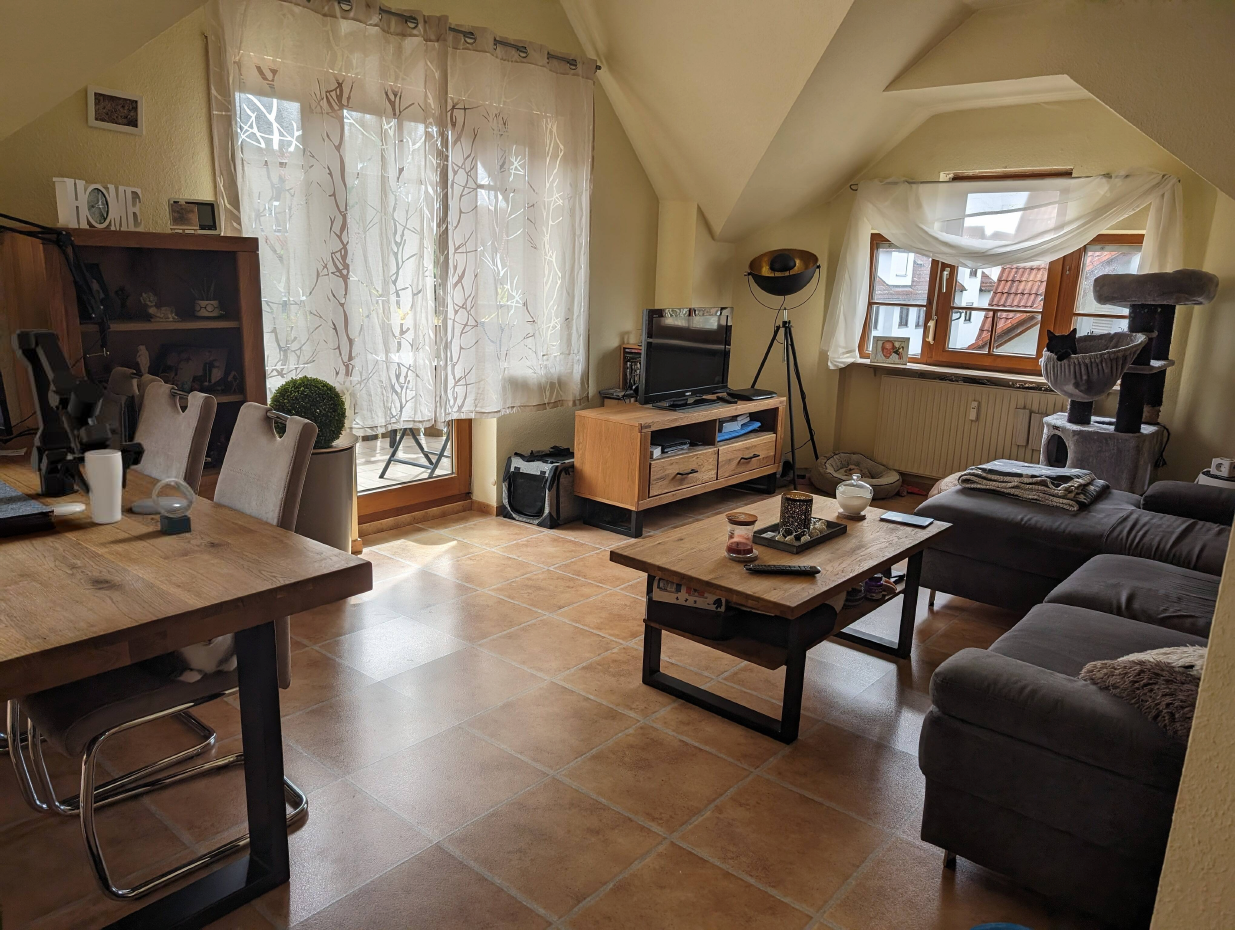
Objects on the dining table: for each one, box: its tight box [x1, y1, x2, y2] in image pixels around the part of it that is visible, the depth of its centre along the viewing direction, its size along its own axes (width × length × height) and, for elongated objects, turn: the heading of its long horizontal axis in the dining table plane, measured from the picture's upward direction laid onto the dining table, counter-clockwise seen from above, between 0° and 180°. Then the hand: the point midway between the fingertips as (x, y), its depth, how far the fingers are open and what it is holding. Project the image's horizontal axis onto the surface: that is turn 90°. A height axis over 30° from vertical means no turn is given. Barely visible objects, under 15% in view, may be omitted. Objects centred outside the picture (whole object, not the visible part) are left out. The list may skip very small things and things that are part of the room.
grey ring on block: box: [151, 477, 196, 536], centre depth 179 cm, size 6×8×11 cm
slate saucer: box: [131, 496, 188, 515], centre depth 197 cm, size 11×11×1 cm
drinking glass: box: [84, 449, 123, 525], centre depth 184 cm, size 7×7×15 cm
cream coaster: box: [46, 502, 87, 516], centre depth 192 cm, size 8×8×1 cm
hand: (106, 490), depth 183 cm, fingers closed on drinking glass, 7 cm apart
